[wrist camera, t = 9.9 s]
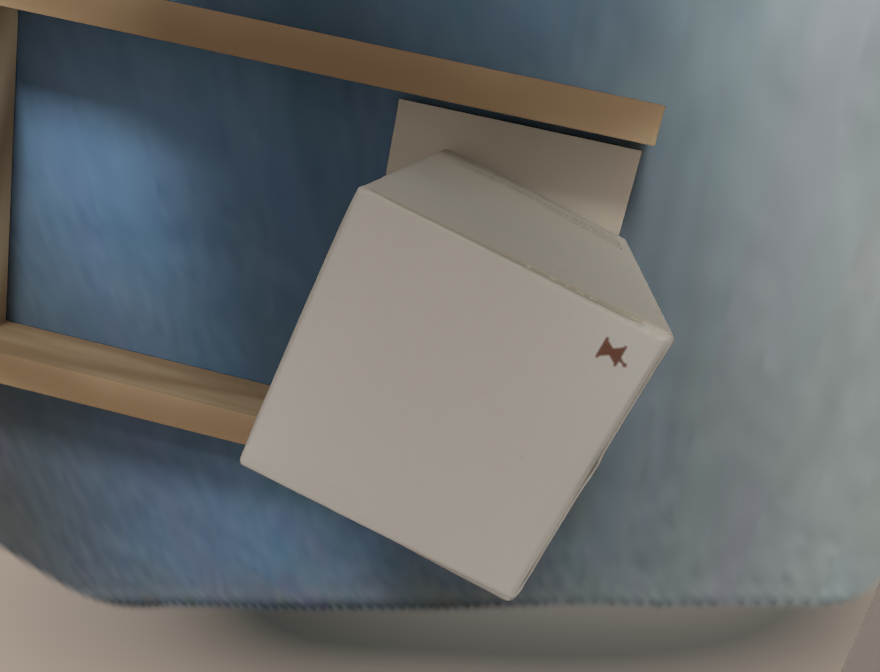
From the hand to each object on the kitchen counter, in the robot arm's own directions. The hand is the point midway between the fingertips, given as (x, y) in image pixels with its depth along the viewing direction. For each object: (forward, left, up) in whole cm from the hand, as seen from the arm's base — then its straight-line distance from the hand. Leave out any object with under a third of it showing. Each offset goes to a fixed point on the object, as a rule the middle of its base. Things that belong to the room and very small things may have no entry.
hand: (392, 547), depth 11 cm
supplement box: (0, 0, -19) cm, 19 cm away
